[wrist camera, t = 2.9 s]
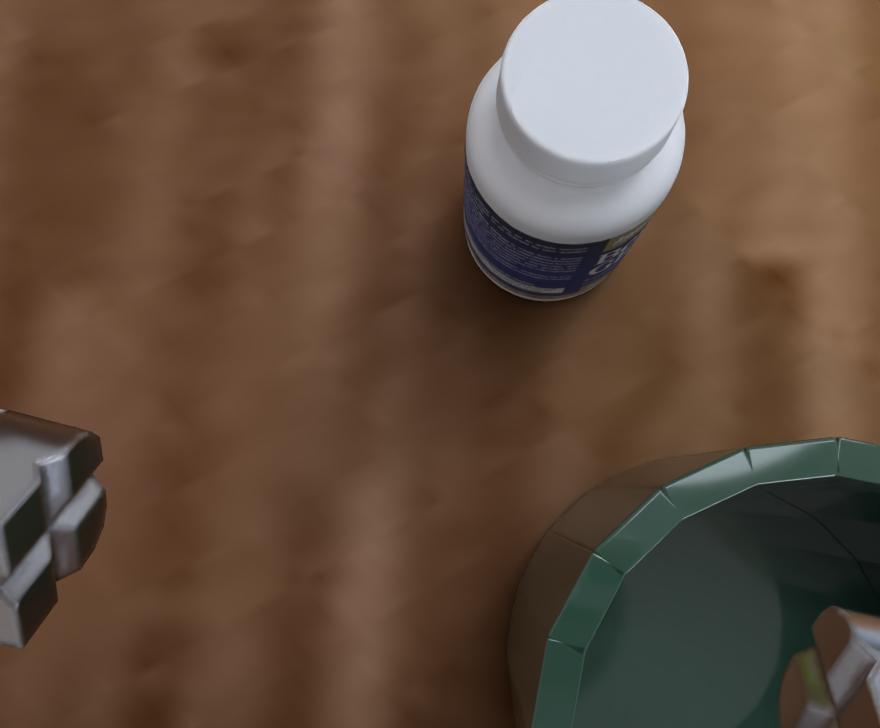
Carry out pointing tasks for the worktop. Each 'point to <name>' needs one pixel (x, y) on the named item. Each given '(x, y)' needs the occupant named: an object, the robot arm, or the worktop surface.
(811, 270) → the worktop surface
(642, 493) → the crock
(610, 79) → the pill bottle
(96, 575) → the worktop surface
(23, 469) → the robot arm
